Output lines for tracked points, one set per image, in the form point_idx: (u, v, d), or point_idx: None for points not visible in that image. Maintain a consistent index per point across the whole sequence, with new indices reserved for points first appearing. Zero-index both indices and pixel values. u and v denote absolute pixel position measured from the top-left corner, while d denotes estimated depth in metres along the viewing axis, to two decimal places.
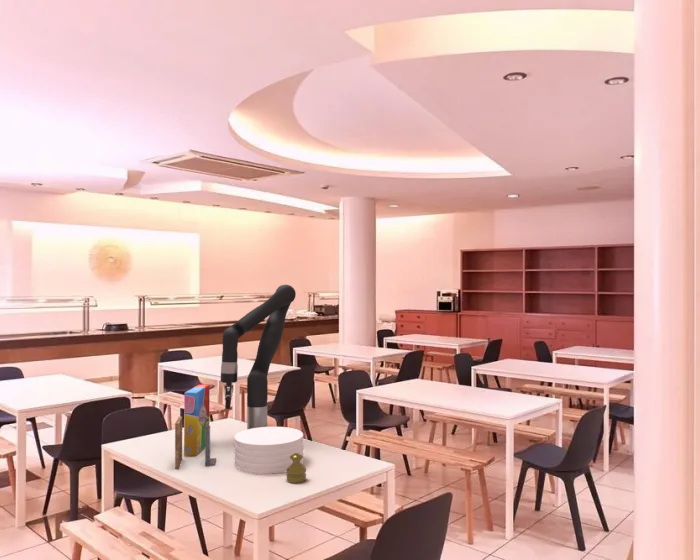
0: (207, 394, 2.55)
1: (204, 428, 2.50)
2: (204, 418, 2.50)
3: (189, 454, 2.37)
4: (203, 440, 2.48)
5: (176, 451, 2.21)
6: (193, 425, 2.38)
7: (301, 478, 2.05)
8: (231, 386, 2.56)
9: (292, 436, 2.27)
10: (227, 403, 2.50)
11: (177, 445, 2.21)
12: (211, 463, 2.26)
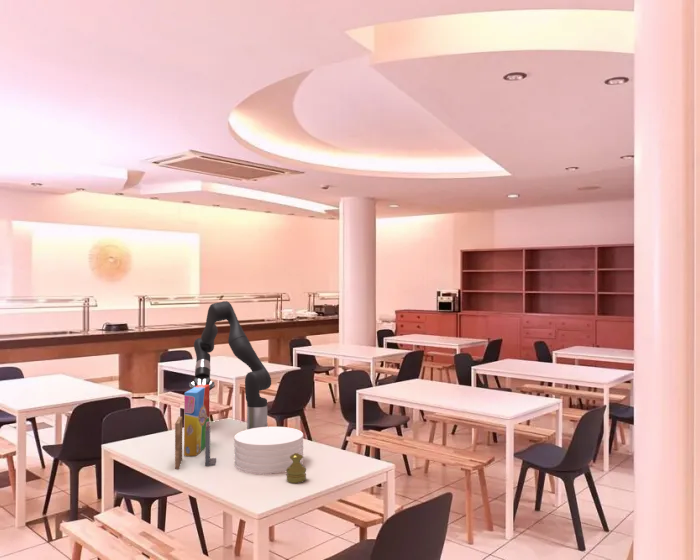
0: (207, 394, 2.55)
1: (204, 428, 2.50)
2: (204, 418, 2.50)
3: (189, 454, 2.37)
4: (203, 440, 2.48)
5: (176, 451, 2.21)
6: (193, 425, 2.38)
7: (301, 478, 2.05)
8: None
9: (292, 436, 2.27)
10: None
11: (177, 445, 2.21)
12: (211, 463, 2.26)
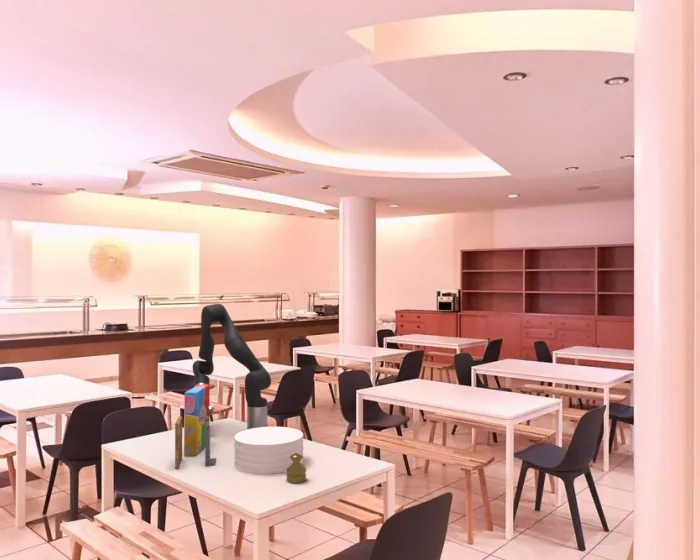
0: (207, 394, 2.55)
1: (204, 428, 2.50)
2: (204, 418, 2.50)
3: (189, 454, 2.37)
4: (203, 440, 2.48)
5: (176, 451, 2.21)
6: (193, 425, 2.38)
7: (301, 478, 2.05)
8: None
9: (292, 436, 2.27)
10: None
11: (177, 445, 2.21)
12: (211, 463, 2.26)
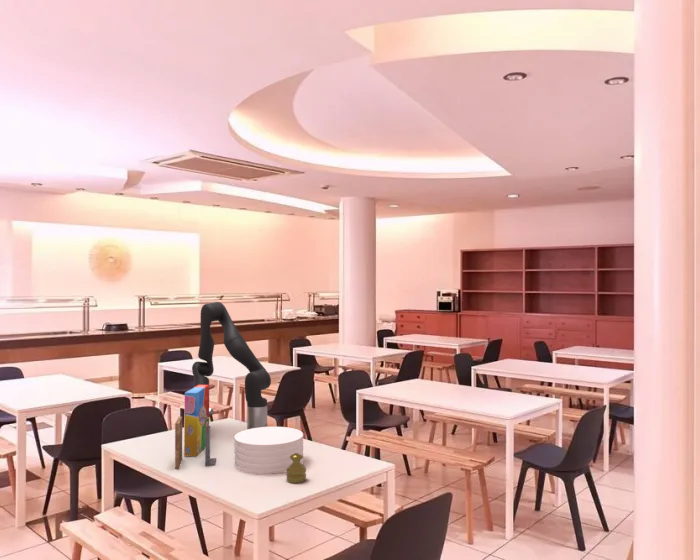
0: (207, 394, 2.55)
1: (204, 428, 2.50)
2: (204, 418, 2.50)
3: (189, 454, 2.37)
4: (203, 440, 2.48)
5: (176, 451, 2.21)
6: (193, 425, 2.37)
7: (301, 478, 2.05)
8: None
9: (292, 436, 2.27)
10: None
11: (177, 445, 2.21)
12: (211, 463, 2.26)
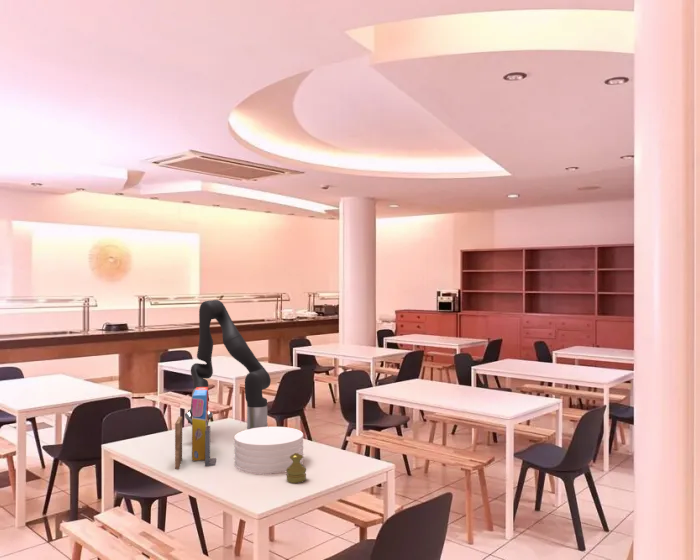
0: (207, 397, 2.49)
1: None
2: (206, 421, 2.44)
3: (198, 458, 2.31)
4: None
5: (176, 451, 2.21)
6: (201, 429, 2.32)
7: (301, 478, 2.05)
8: None
9: (292, 436, 2.27)
10: None
11: (177, 445, 2.21)
12: (211, 463, 2.26)
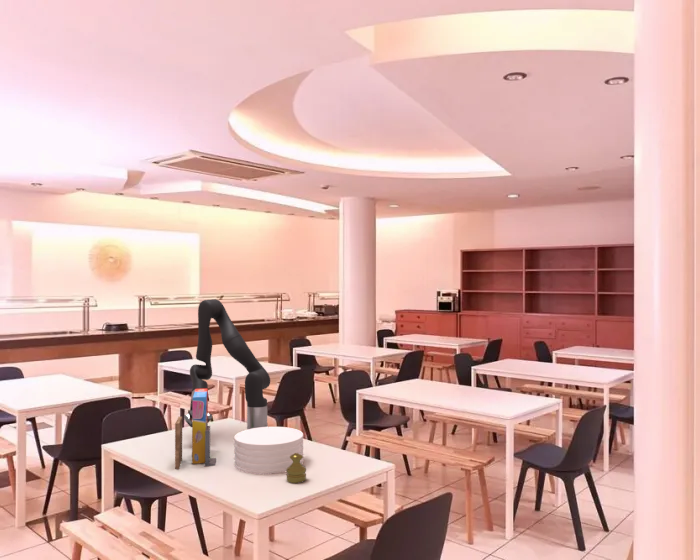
0: None
1: None
2: (206, 424, 2.40)
3: (198, 461, 2.27)
4: None
5: (176, 451, 2.21)
6: (202, 431, 2.28)
7: (301, 478, 2.05)
8: None
9: (292, 436, 2.27)
10: None
11: (177, 445, 2.21)
12: (211, 463, 2.26)
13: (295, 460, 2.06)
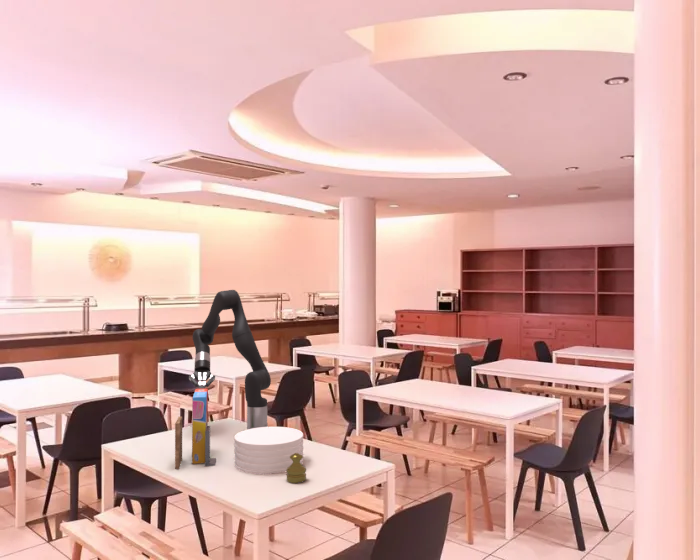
0: (207, 398, 2.45)
1: None
2: (206, 424, 2.40)
3: (198, 462, 2.27)
4: None
5: (176, 451, 2.21)
6: (202, 431, 2.28)
7: (301, 478, 2.05)
8: None
9: (292, 436, 2.27)
10: None
11: (177, 445, 2.21)
12: (211, 463, 2.26)
13: (295, 460, 2.06)
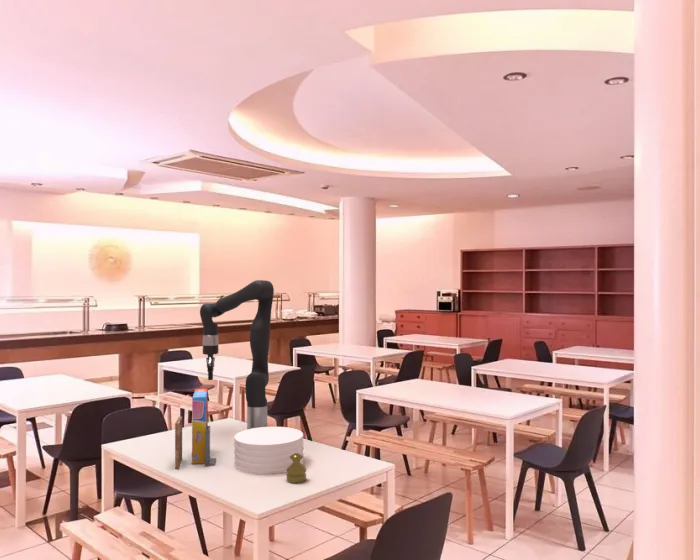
0: None
1: None
2: (206, 424, 2.40)
3: (198, 462, 2.27)
4: None
5: (176, 451, 2.21)
6: (202, 431, 2.28)
7: (301, 478, 2.05)
8: (213, 357, 2.73)
9: (292, 436, 2.27)
10: (210, 374, 2.70)
11: (177, 445, 2.21)
12: (211, 463, 2.26)
13: (295, 460, 2.06)
